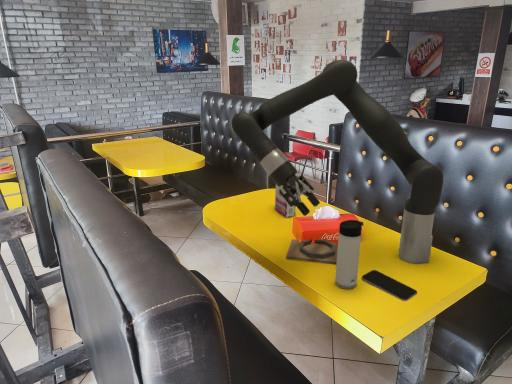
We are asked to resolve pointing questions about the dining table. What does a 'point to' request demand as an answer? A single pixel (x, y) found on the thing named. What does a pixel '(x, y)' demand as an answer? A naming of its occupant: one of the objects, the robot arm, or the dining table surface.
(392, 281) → the smartphone
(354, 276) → the travel mug
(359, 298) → the dining table surface
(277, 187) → the candy bar box
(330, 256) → the mug holder board
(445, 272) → the dining table surface
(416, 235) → the robot arm
